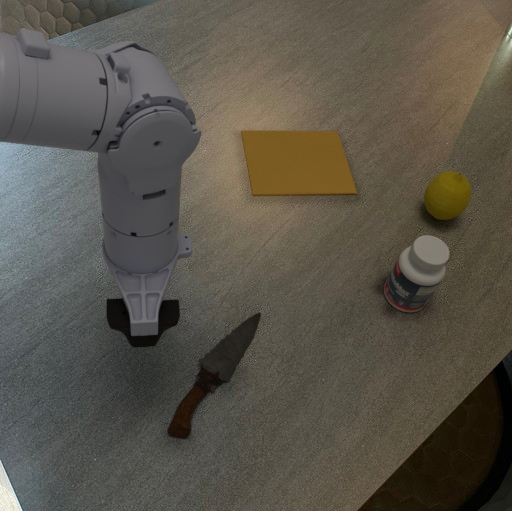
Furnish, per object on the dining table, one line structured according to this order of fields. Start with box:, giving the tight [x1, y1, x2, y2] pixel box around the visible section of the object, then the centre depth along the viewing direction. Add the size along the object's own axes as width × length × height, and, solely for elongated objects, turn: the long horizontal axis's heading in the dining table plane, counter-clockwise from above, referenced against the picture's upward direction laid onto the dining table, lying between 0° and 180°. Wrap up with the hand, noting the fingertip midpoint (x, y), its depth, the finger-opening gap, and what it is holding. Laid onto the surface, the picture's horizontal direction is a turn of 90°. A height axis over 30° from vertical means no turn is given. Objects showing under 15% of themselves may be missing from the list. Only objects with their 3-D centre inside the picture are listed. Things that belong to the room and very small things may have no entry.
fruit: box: [423, 170, 472, 221], centre depth 79 cm, size 6×6×8 cm
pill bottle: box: [383, 234, 451, 313], centre depth 70 cm, size 5×5×9 cm
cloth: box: [240, 130, 358, 197], centre depth 85 cm, size 14×12×1 cm
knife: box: [167, 311, 262, 439], centre depth 64 cm, size 17×2×5 cm
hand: (142, 306), depth 57 cm, fingers open, 7 cm apart
